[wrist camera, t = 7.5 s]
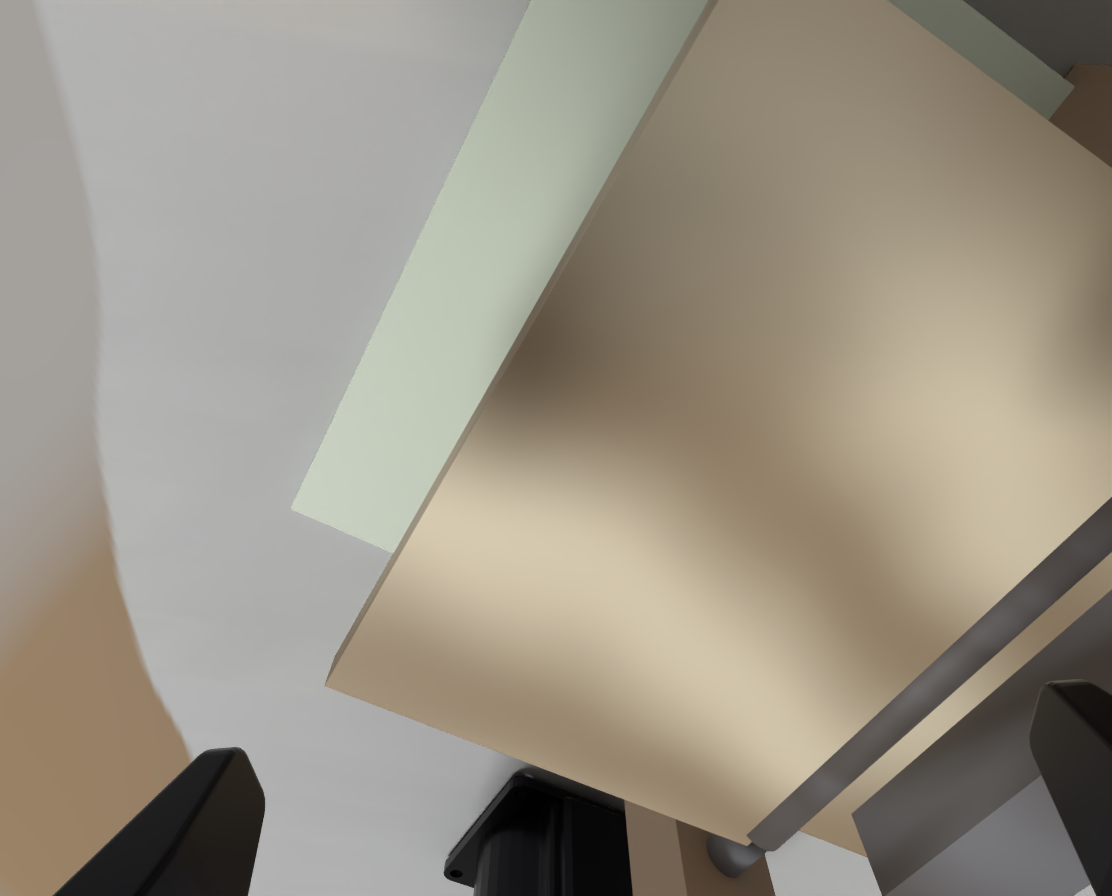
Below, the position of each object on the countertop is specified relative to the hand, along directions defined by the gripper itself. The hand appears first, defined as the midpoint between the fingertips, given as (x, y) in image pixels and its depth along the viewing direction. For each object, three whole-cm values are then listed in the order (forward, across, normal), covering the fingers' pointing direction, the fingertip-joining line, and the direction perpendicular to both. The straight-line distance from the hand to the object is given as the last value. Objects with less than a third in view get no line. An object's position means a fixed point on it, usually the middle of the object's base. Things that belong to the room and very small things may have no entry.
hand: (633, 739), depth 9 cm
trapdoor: (+6, -4, +2) cm, 7 cm away
